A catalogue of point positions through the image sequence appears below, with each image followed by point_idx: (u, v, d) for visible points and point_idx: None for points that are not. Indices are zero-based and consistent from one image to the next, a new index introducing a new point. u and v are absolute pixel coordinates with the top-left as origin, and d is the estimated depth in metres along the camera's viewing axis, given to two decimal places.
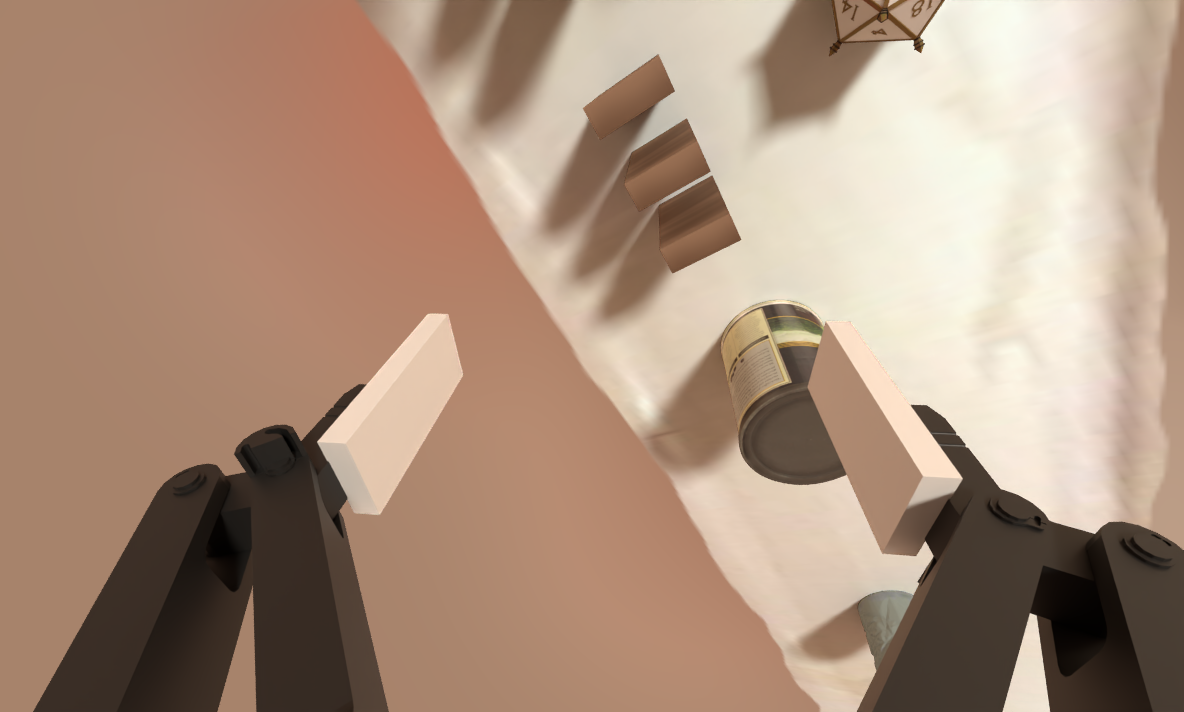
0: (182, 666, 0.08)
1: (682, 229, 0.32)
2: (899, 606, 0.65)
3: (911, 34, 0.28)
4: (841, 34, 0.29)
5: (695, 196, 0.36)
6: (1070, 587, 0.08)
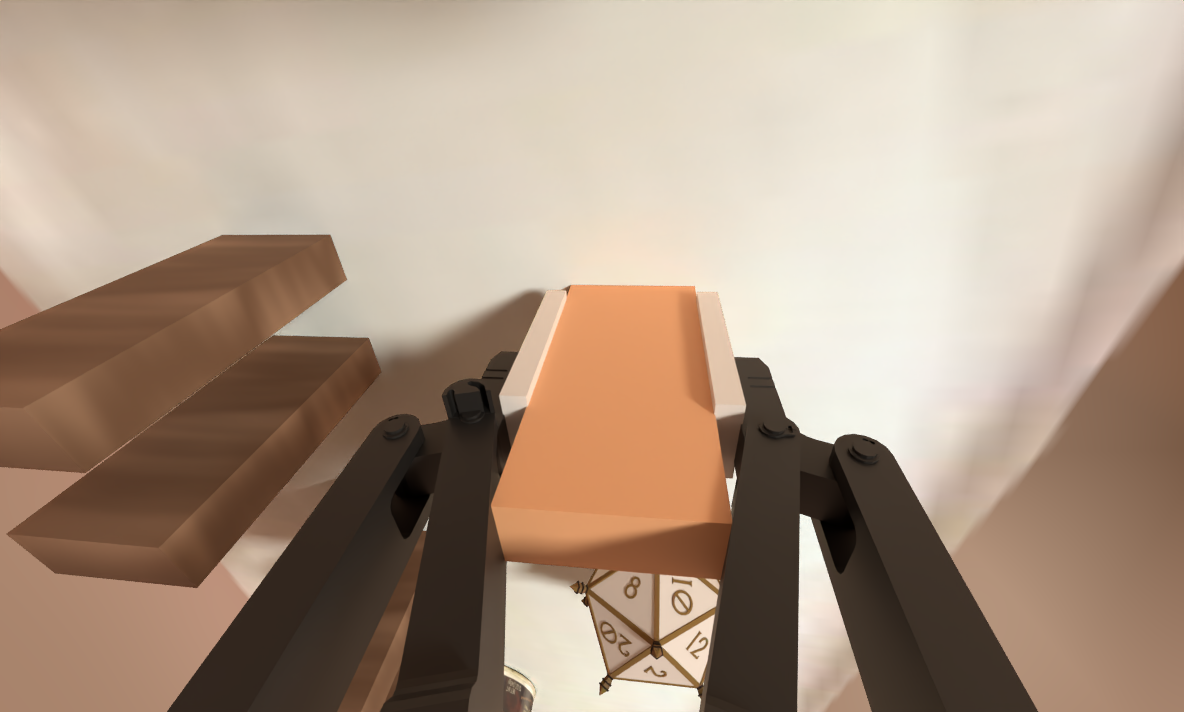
0: (351, 600, 0.09)
1: None
2: None
3: None
4: None
5: None
6: (811, 485, 0.10)
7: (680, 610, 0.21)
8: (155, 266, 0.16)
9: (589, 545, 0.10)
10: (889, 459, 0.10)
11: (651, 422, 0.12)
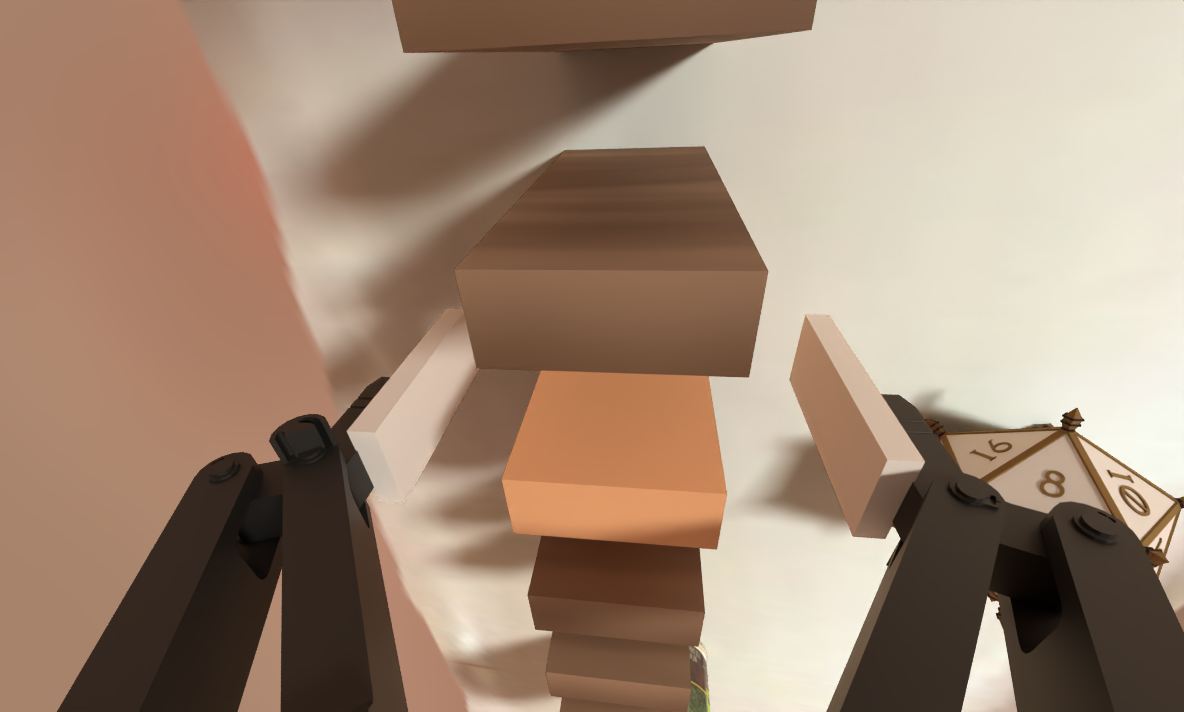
0: (210, 651, 0.08)
1: None
2: None
3: None
4: None
5: None
6: (1023, 564, 0.09)
7: (1136, 509, 0.15)
8: None
9: (593, 516, 0.11)
10: (1134, 545, 0.08)
11: (651, 404, 0.12)
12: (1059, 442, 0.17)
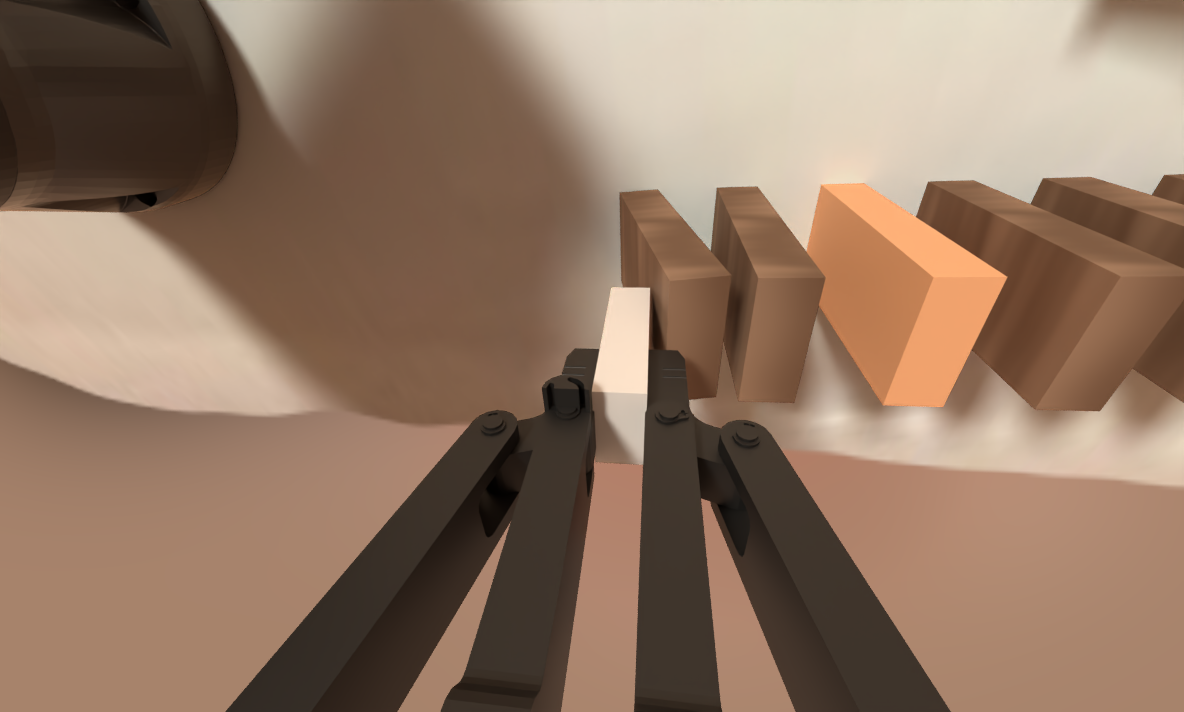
0: (431, 594, 0.09)
1: None
2: None
3: None
4: None
5: None
6: (701, 468, 0.11)
7: None
8: None
9: (936, 358, 0.15)
10: (768, 439, 0.11)
11: (878, 285, 0.17)
12: None
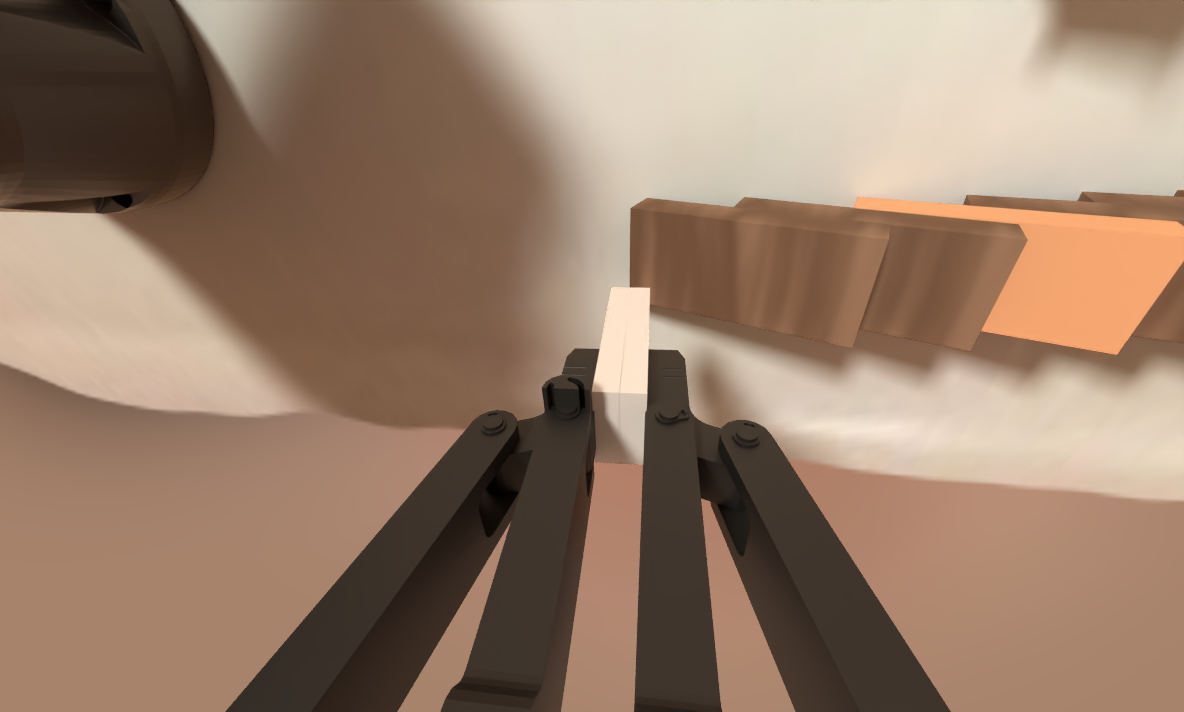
0: (431, 594, 0.09)
1: None
2: None
3: None
4: None
5: None
6: (701, 468, 0.11)
7: None
8: (689, 307, 0.23)
9: None
10: (768, 439, 0.11)
11: (1068, 268, 0.18)
12: None
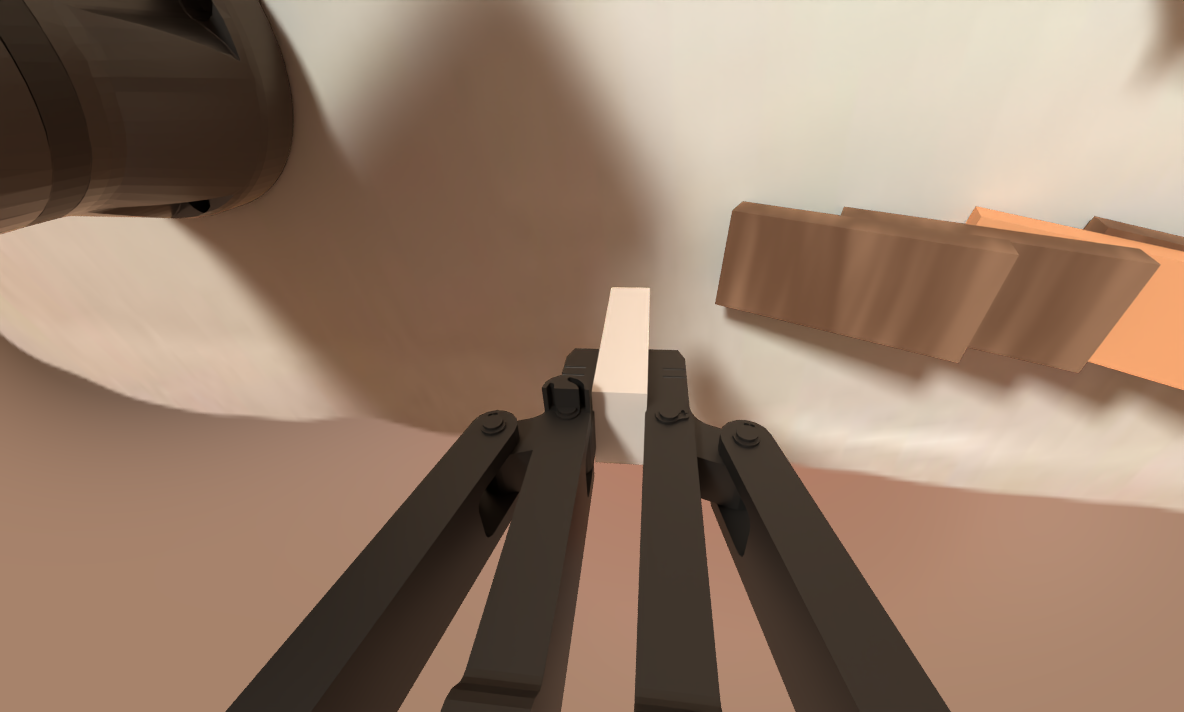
0: (431, 594, 0.09)
1: None
2: None
3: None
4: None
5: None
6: (700, 468, 0.11)
7: None
8: (781, 314, 0.23)
9: None
10: (768, 439, 0.11)
11: None
12: None
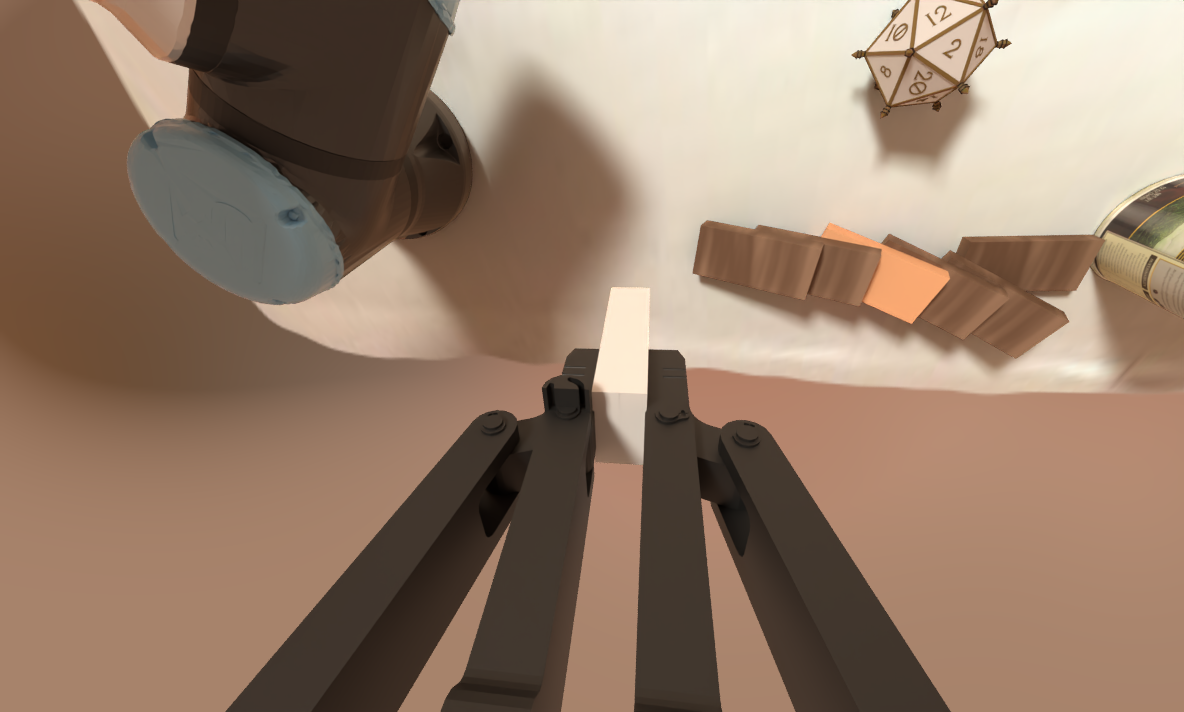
0: (431, 594, 0.09)
1: (1067, 273, 0.43)
2: None
3: (990, 51, 0.32)
4: (933, 101, 0.35)
5: (1002, 259, 0.43)
6: (700, 468, 0.11)
7: (903, 33, 0.31)
8: (725, 278, 0.45)
9: None
10: (768, 439, 0.11)
11: (904, 280, 0.41)
12: (869, 60, 0.34)
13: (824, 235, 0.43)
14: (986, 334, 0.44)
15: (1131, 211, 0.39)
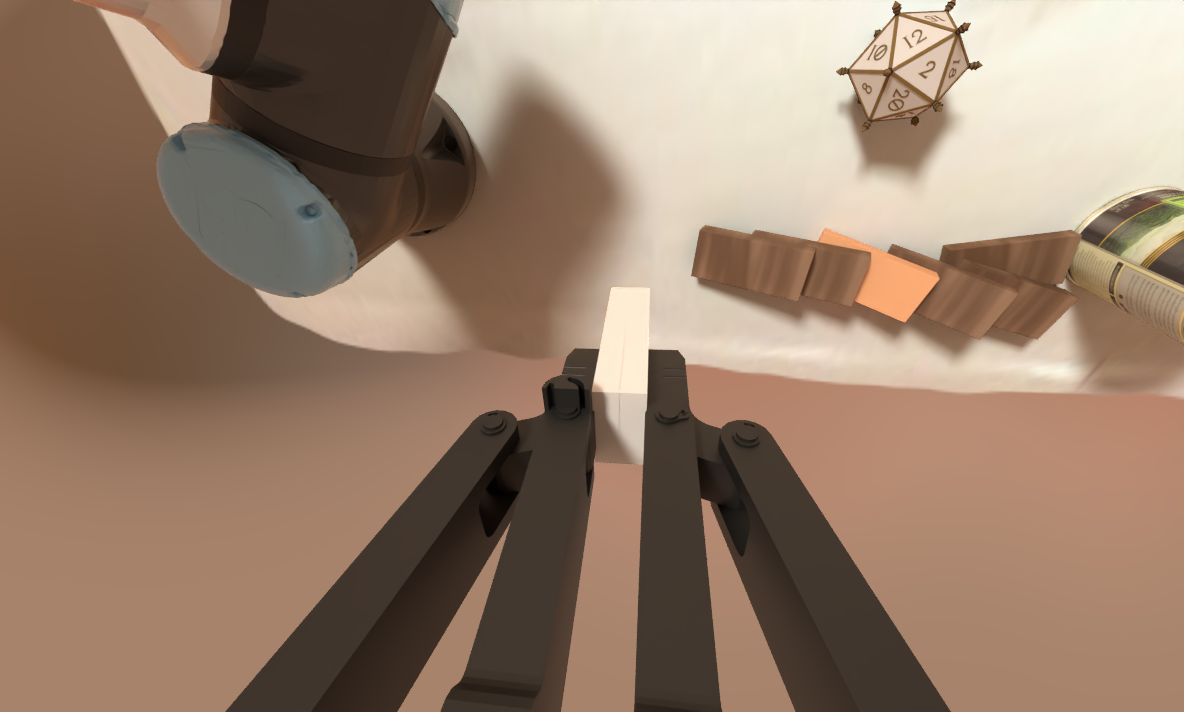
0: (431, 593, 0.09)
1: (1051, 268, 0.45)
2: None
3: (963, 72, 0.34)
4: (911, 116, 0.37)
5: (984, 263, 0.45)
6: (701, 468, 0.11)
7: (883, 54, 0.34)
8: (722, 280, 0.48)
9: None
10: (768, 439, 0.11)
11: (897, 281, 0.44)
12: (852, 77, 0.36)
13: (821, 239, 0.45)
14: (1011, 325, 0.46)
15: (1102, 221, 0.42)
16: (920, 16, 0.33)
